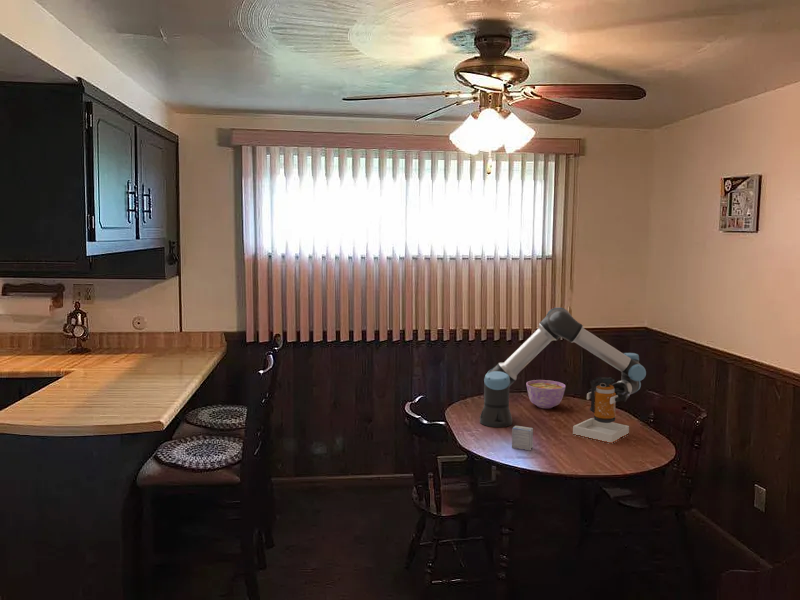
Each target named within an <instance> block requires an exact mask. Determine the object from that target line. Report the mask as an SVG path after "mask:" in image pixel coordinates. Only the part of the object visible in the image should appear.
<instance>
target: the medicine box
mask: <svg viewBox="0 0 800 600" xmlns="http://www.w3.org/2000/svg"><path fill="white" fill-rule="evenodd" d="M511 431H512V432H511V434H512V435H511V448H512V449H517V448H519V449H518V450H523V449H525V451H531V450H532V449H531V448H533V447H534V445H533V444H534V443H533V441H534V439H533V438H534V437H533V436H534V428H533V427H527V426H521V425H514V426H513V427H512V430H511Z"/></svg>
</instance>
